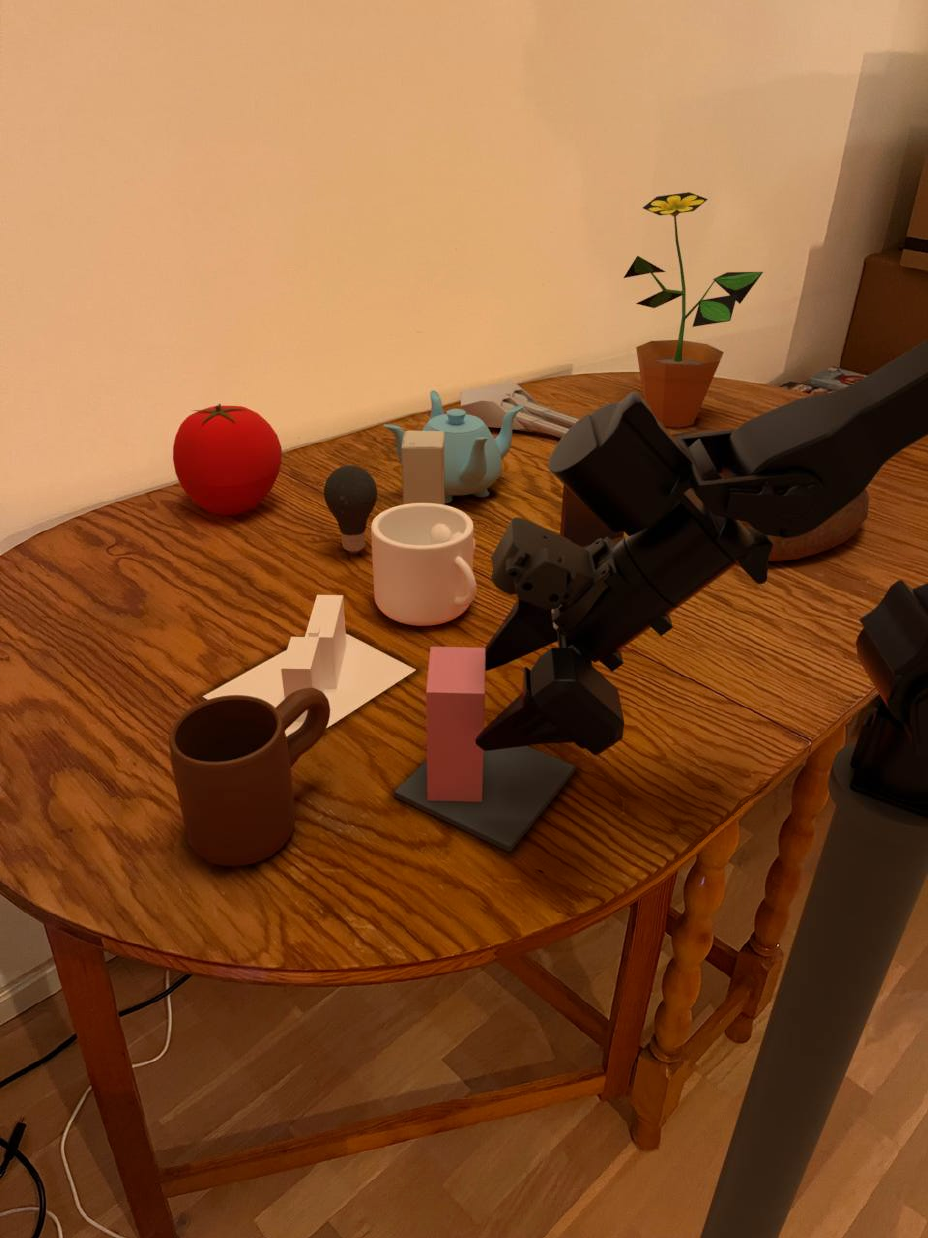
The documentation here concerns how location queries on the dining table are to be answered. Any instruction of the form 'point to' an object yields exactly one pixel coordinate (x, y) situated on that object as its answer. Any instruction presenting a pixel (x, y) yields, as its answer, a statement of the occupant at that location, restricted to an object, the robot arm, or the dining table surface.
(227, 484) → the tomato
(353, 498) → the light bulb
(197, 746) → the mug
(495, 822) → the mat
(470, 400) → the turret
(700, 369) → the potted plant
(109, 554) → the dining table surface
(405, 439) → the box
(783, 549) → the bread
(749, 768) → the dining table surface
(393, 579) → the mug
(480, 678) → the block
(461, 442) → the teapot
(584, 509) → the dark brown bookend
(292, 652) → the napkin holder
